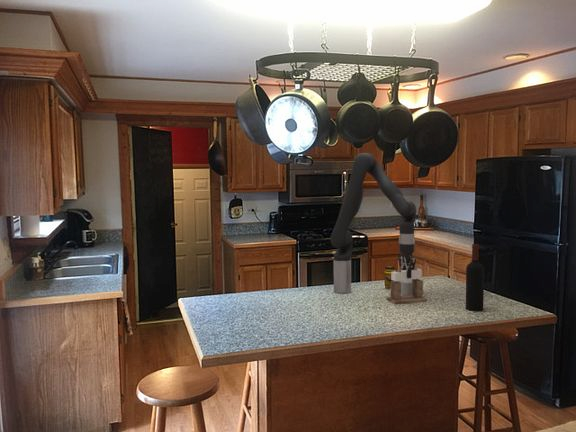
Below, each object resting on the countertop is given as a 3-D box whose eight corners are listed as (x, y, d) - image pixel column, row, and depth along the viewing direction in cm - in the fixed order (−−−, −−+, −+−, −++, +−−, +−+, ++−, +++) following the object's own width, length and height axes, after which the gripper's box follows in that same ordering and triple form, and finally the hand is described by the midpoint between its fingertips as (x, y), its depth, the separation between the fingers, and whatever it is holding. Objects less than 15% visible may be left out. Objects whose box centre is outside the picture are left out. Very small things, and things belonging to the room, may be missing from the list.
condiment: (390, 290, 258) (390, 268, 257) (378, 287, 265) (378, 266, 264) (399, 288, 263) (399, 266, 262) (387, 285, 270) (387, 264, 268)
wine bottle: (462, 309, 220) (463, 244, 218) (469, 305, 226) (470, 242, 223) (479, 312, 215) (480, 246, 213) (485, 308, 221) (487, 243, 218)
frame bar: (416, 276, 242) (417, 267, 242) (421, 277, 239) (421, 268, 238) (391, 279, 235) (391, 270, 235) (395, 281, 232) (395, 272, 232)
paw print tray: (404, 296, 245) (404, 280, 244) (392, 290, 257) (392, 274, 257) (423, 295, 248) (423, 278, 247) (410, 289, 260) (410, 273, 259)
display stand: (386, 299, 240) (386, 280, 240) (416, 296, 245) (416, 277, 244) (396, 304, 231) (396, 284, 230) (427, 301, 235) (427, 281, 235)
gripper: (421, 244, 230) (421, 279, 231) (406, 240, 243) (406, 273, 245) (407, 244, 228) (407, 280, 229) (392, 241, 241) (392, 274, 243)
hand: (406, 276), depth 237 cm, fingers closed on frame bar, 3 cm apart
